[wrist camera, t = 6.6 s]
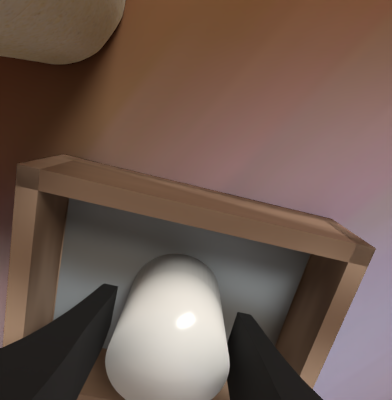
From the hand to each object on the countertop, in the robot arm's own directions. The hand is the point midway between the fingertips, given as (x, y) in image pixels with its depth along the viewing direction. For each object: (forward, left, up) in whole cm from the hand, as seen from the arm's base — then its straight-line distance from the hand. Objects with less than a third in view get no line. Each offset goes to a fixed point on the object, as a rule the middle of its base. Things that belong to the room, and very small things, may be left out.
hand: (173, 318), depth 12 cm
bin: (-5, 0, -3) cm, 6 cm away
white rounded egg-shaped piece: (0, 0, -2) cm, 2 cm away
